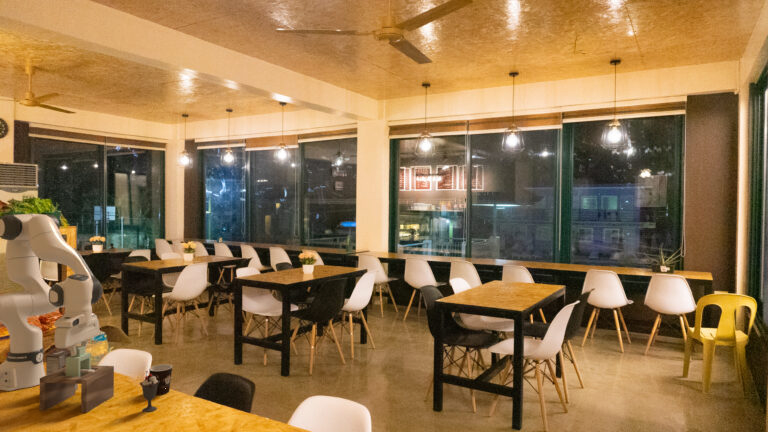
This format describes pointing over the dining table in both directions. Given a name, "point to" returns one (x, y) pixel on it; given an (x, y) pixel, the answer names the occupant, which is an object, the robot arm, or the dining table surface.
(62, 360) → the coffee box
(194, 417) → the dining table surface
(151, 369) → the coffee mug
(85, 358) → the green u-channel bracket
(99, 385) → the wooden frame with rod
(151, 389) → the sundae
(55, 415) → the dining table surface
